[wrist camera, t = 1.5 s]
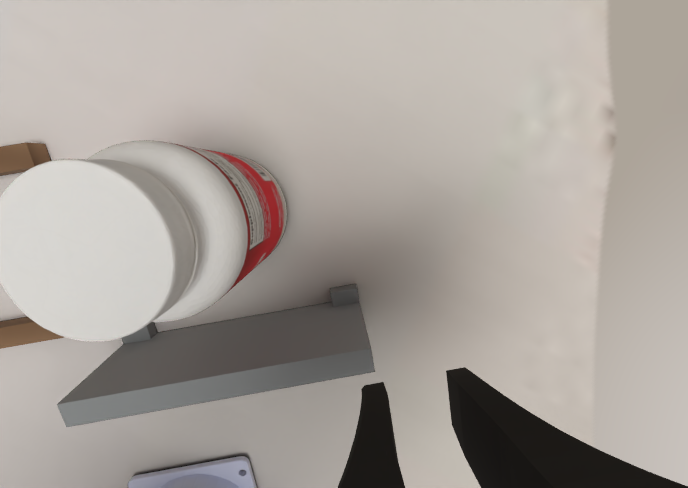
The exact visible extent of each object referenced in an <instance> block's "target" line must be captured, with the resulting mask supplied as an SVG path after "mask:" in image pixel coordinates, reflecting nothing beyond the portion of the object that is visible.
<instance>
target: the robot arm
mask: <svg viewBox="0 0 688 488" xmlns="http://www.w3.org/2000/svg"><path fill="white" fill-rule="evenodd" d="M446 372H447V382H448V391H449V401H450V410H451V420H452V426H453V428H454V431H455V433H456V436H457V438H458V441H459V443H460V446H461V448H462V451H463V453H464V456H465V458H466V460H467V461H468V463H469V465H470V467H471V469H472V471H473V473H474V475H475V477H476V479H477V480H478V482H479V484H480V486H481V488H688V486H685V485H682V484H679V483H677V482H674V481H671V480H669V479H666V478H663V477H661V476H658V475H656V474H653V473H651V472H648V471H646V470H643V469H641V468H638V467H636V466H634V465H631V464H629V463H627V462H624V461H622V460H620V459H618V458H615V457H613V456H611V455H609V454H606V453H604V452H602V451H600V450H598V449H596V448H594V447H592V446H590V445H588V444H586V443H584V442H582V441H580V440H578V439H576V438H574V437H572V436H570V435H568V434H566V433H564V432H563V431H561V430H559V429H557V428H555V427H554V426H552V425H550V424H548V423H547V422H545V421H543V420H542V419H540V418H538V417H537V416H535V415H533V414H532V413H530V412H529V411H527V410H525V409H524V408H522V407H521V406H519V405H518V404H516V403H515V402H513V401H512V400H510V399H509V398H507V397H506V396H504V395H503V394H501V393H500V392H498V391H497V390H496V389H494V388H493V387H491V386H490V385H489V384H487V383H486V382H484V381H483V380H482V379H480V378H479V377H478V376H476V375H475V374H473V373H472V372H471V371H469V370H468V369H466V368H465V367H464V368H459V369H453V370H448V371H446ZM242 470H245V471H242ZM128 488H257V487H256V483H255V479H254V476H253V472H252V469H251V465H250V462H249V459H248V458H247V457H244V456H239V457H233V458H228V459H222V460H217V461H211V462H206V463H201V464H195V465H190V466H184V467H179V468H173V469H168V470H162V471H157V472H151V473H146V474H140V475H135V476H133V477H132V478H131V479H130V481H129V483H128ZM338 488H405V486H404V482H403V478H402V475H401V471H400V467H399V464H398V458H397V452H396V445H395V439H394V432H393V426H392V420H391V413H390V407H389V400H388V395H387V392H386V389H385V386H384V383H383V382H381V383H376V384H370V385H365V386H364V387H363V388H362V402H361V410H360V416H359V421H358V425H357V430H356V434H355V438H354V442H353V445H352V448H351V452H350V455H349V458H348V461H347V464H346V467H345V470H344V473H343V475H342V478H341V480H340V483H339V485H338Z"/></svg>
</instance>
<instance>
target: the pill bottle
mask: <svg viewBox="0 0 688 488" xmlns="http://www.w3.org/2000/svg"><path fill="white" fill-rule="evenodd" d="M286 221H287V208H286V202H285V198H284V195H283V193H282V190H281V188H280V186H279V185H278V183H277V181H276V180H275V179H274V178H273V176H272V175H271V174H270V173H269V172H268V171H267V170H266V169H265V168H263V167H262V166H261V165H259V164H257V163H256V162H254V161H252V160H249V159H247V158H244V157H241V156H237V155H233V154H227V153H220V152H215V151H209V150H204V149H199V148H193V147H187V146H183V145H178V144H173V143H167V142H161V141H132V142H125V143H121V144H116V145H113V146H111V147H108V148H106V149H104V150H101V151H99V152H98V153H96V154H94V155H93V156H91V157H90V158H88V159H87V160H85V159H60V160H54V161H49V162H46V163H43V164H40V165H37V166H35V167H33V168H31V169H29V170H27V171H26V172H24V173H22V174H21V175H20V176H19V177H17V178H16V179H15V180H14V181H13V182H12V183H11V184H10V185H9V186H8V187H7V188H6V190H5V191H4V192H3V194H2V196H1V197H0V283H1V285H2V286H3V288H4V290H5V292H6V293H7V294H8V296H9V297H10V298H11V300H12V301H13V302H14V303H15V305H16V306H17V307H18V308H19V309H20V310H21V311H22V312H23V313H24V314H25V315H26V316H28V317H29V318H30V319H32V320H33V321H34V322H36V323H37V324H38V325H40V326H41V327H43V328H45V329H47V330H49V331H51V332H53V333H55V334H58V335H60V336H63V337H67V338H70V339H74V340H79V341H87V342H100V341H110V340H115V339H118V338H122V337H125V336H128V335H130V334H133V333H135V332H137V331H139V330H140V329H142V328H144V327H145V326H146V325H148V324H149V323H151V322H169V321H175V320H180V319H184V318H187V317H190V316H193V315H195V314H197V313H199V312H201V311H203V310H205V309H207V308H208V307H210V306H211V305H213V304H214V303H215V302H217V301H218V300H219V299H221V298H222V297H223V296H224V295H225V294H226V293H227V292H228V291H229V290H231V289H232V288H233V287H234V286H235V285H236V284H237V283H238V282H239V281H241V280H242V279H243V278H244V277H245V276H246V275H247V274H248V273H250V272H251V271H252V270H253V269H254V268H255V267H256V266H257V265H258V264H260V263H261V262H262V261H263V260H264V259H265V258H266V257H267V256H268V255H270V254H271V252H272V251H273V250H274V249H275V248H276V247H277V245H278V244H279V242H280V240H281V238H282V236H283V234H284V231H285V227H286Z"/></svg>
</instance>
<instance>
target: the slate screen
mask: <svg viewBox="0 0 688 488" xmlns="http://www.w3.org/2000/svg"><path fill="white" fill-rule="evenodd" d="M330 295H331V300H332V302H329V303H323V304H318V305H312V306H306V307H301V308H295V309H289V310H284V311H278V312H272V313H267V314H261V315H255V316H250V317H244V318H238V319H233V320H227V321H221V322H216V323H210V324H204V325H199V326H193V327H187V328H181V329H176V330H170V331H164V332H159V333H157V330H156V327H155V324H154V322H151V323H149V324H148V325H146V326H145V327H144V328H142V329H140V330H139V331H137V332H135V333H133V334H130V335H128V336H125V337H122V341H123V345H122V346H121V347H120V348H119V349H118V350H117V351H115V352H114V353H113V354H112V355H111V356H110V357H109V358H108V359H107V360H106V361H104V362H103V363H102V364H101V365H100V366H99V367H98V368H97V369H96V370H94V371H93V372H92V373H91V374H90V375H89V376H88V377H87V378H86V379H85V380H83V381H82V382H81V383H80V384H79V385H78V386H77V387H76V388H75V389H73V390H72V391H71V392H70V393H69V394H68V395H67V396H66V397H65V398H64V399H62V400H61V401H60V402H59V403H58V404H57V406H58V408H59V410H60V413H61V415H62V418H63V420H64V422H65V425H66V427H71V426H76V425H82V424H87V423H93V422H99V421H104V420H110V419H115V418H121V417H126V416H132V415H137V414H143V413H149V412H154V411H160V410H165V409H171V408H176V407H182V406H187V405H193V404H199V403H204V402H210V401H215V400H221V399H226V398H232V397H237V396H243V395H249V394H254V393H260V392H265V391H271V390H276V389H282V388H287V387H293V386H299V385H304V384H310V383H315V382H321V381H326V380H332V379H337V378H343V377H349V376H354V375H360V374H365V373H371V372H375V369H374V363H373V357H372V351H371V346H370V342H369V338H368V334H367V330H366V326H365V322H364V319H363V315H362V311H361V307H360V303H359V297H358V291H357V286H356V284H351V285H346V286H340V287H334V288H330Z"/></svg>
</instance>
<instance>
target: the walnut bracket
mask: <svg viewBox="0 0 688 488" xmlns="http://www.w3.org/2000/svg"><path fill="white" fill-rule="evenodd" d="M49 161H51V160H50V157H49V154H48V151H47V148H46V145H45V144H38V143H21V144H15V145H9V146H3V147H0V176H2V175H8V174H14V173H20V172H26V171H27V170H29V169H31V168H33V167H35V166H37V165H40V164H43V163H46V162H49ZM58 338H63V336H60V335H58V334H55V333H53V332H51V331H49V330H47V329H45V328H43V327H41V326H40V325H38V324H37V323H36V322H34V321H33V320H32V319H30V318H29V317H24V318H18V319H12V320H7V321H1V322H0V349H1V348H6V347H12V346H18V345H23V344H29V343H35V342H41V341H46V340H52V339H58Z"/></svg>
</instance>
